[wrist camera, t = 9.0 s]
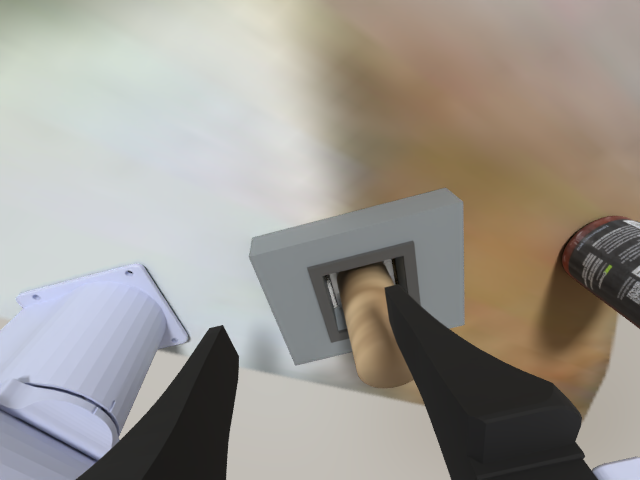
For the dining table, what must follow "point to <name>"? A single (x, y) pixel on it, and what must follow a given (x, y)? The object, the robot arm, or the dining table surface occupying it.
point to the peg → (371, 326)
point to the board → (355, 251)
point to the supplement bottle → (608, 263)
